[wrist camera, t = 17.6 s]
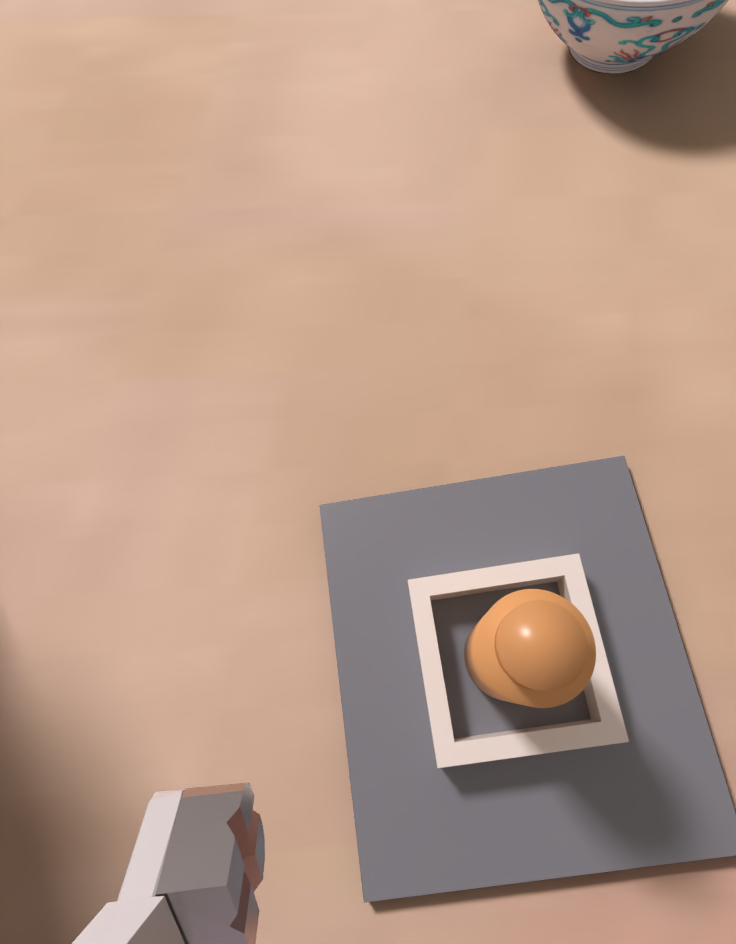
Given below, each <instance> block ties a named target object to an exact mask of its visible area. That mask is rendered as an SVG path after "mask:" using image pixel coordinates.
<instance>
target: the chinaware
mask: <svg viewBox="0 0 736 944" xmlns="http://www.w3.org/2000/svg"><path fill="white" fill-rule="evenodd" d="M728 1H729V0H538V2H539V5H540V7H541V10H542V12H543V14H544V16H545V18H546V20H547V22H548V23H549V25H550V27H551V28H552V29H553V31H554V32H555V33H556V35H557V36H558V37H559V38H560V39H561V40H562V41H563V42H564V43H565V44H566V45H568V46H569V48H570V52H571V54H572V55H573V57H574V58H575V59H576V60H577V61H578V62H579V63H580V64H581V65H583V66H585V67H586V68H588V69H591V70H594V71H597V72H602V73H624V72H628V71H632V70H635V69H637V68H639V67H641V66H643V65H644V64H646V63H647V62H648V61H650V60H651V59H652V57H654V56H656V55H659V54H661V53H664V52H666V51H668V50H670V49H672V48H674V47H675V46H677V45H679V44H680V43H682V42H684V41H685V40H687V39H688V38H689V37H691V36H692V35H694V34H695V33H696V32H697V31H699V30H700V29H701V28H702V27H703V26H705V25H706V24H707V23H708V22H709V21H710V20H711V19H712V18H713V17H714V16H715V15H716V14H717V13H718V12H719V11H720V10H721V9H722V8H723V6H724V5H725V4H726V3H727V2H728Z"/></svg>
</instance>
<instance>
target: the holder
mask: <svg viewBox="0 0 736 944" xmlns="http://www.w3.org/2000/svg"><path fill="white" fill-rule="evenodd" d="M320 514H321V523H322V532H323V540H324V549H325V558H326V567H327V576H328V585H329V594H330V603H331V612H332V621H333V630H334V639H335V648H336V657H337V666H338V675H339V684H340V693H341V702H342V711H343V720H344V729H345V738H346V747H347V756H348V764H349V773H350V782H351V791H352V800H353V809H354V818H355V827H356V836H357V845H358V854H359V863H360V872H361V881H362V890H363V899H364V902H372V901H380V900H388V899H396V898H403V897H411V896H419V895H427V894H435V893H443V892H451V891H459V890H467V889H475V888H483V887H491V886H499V885H506V884H514V883H522V882H530V881H538V880H546V879H554V878H562V877H570V876H578V875H586V874H594V873H601V872H609V871H617V870H625V869H633V868H641V867H649V866H657V865H665V864H673V863H681V862H689V861H696V860H704V859H712V858H720V857H728V856H736V813H735V810H734V806H733V803H732V800H731V797H730V794H729V790H728V787H727V784H726V781H725V777H724V774H723V771H722V768H721V765H720V761H719V758H718V755H717V752H716V749H715V745H714V742H713V739H712V736H711V733H710V729H709V726H708V723H707V720H706V716H705V713H704V710H703V707H702V704H701V700H700V697H699V694H698V691H697V688H696V684H695V681H694V678H693V675H692V671H691V668H690V665H689V662H688V659H687V655H686V652H685V649H684V646H683V643H682V639H681V636H680V633H679V630H678V627H677V623H676V620H675V617H674V614H673V610H672V607H671V604H670V601H669V598H668V594H667V591H666V588H665V585H664V582H663V578H662V575H661V572H660V569H659V566H658V562H657V559H656V556H655V553H654V549H653V546H652V543H651V540H650V537H649V533H648V530H647V527H646V524H645V521H644V517H643V514H642V511H641V508H640V504H639V501H638V498H637V495H636V492H635V488H634V485H633V482H632V479H631V476H630V472H629V469H628V466H627V463H626V460H625V456H620V457H613V458H607V459H601V460H595V461H589V462H582V463H576V464H570V465H564V466H558V467H552V468H545V469H539V470H533V471H527V472H521V473H515V474H508V475H502V476H496V477H490V478H484V479H478V480H471V481H465V482H459V483H453V484H447V485H440V486H434V487H428V488H422V489H416V490H410V491H403V492H397V493H391V494H385V495H379V496H373V497H366V498H360V499H354V500H348V501H342V502H336V503H329V504H323V505H320ZM523 589H541V590H546V591H549V592H553V593H555V594H557V595H560V596H562V597H563V598H565V599H566V600H568V601H569V602H570V603H572V604H573V605H574V606H575V607H576V608H577V609H578V610H579V611H580V612H581V613H582V615H583V616H584V617H585V619H586V621H587V622H588V624H589V626H590V628H591V630H592V633H593V636H594V640H595V645H596V662H595V667H594V671H593V674H592V676H591V679H590V680H589V682H588V684H587V685H586V687H585V688H584V689H583V691H582V692H581V693H580V694H579V695H578V696H576V697H575V698H574V699H572V700H570V701H569V702H567V703H565V704H562V705H559V706H556V707H551V708H534V707H530V706H525V705H520V704H516V703H511V702H507V701H502V700H498V699H495V698H492V697H490V696H488V695H487V694H485V693H484V692H482V691H481V690H480V689H479V688H478V687H477V686H476V685H475V684H474V682H473V681H472V680H471V678H470V676H469V674H468V672H467V669H466V666H465V661H464V648H465V643H466V640H467V638H468V635H469V633H470V632H471V630H472V629H473V628H474V627H475V625H476V624H477V623H478V622H479V621H480V620H481V619H482V617H483V616H484V615H485V614H486V613H487V612H488V611H489V610H490V608H491V607H492V606H493V605H494V604H495V603H496V602H497V601H498V600H500V599H501V598H503V597H504V596H506V595H508V594H510V593H512V592H515V591H519V590H523Z"/></svg>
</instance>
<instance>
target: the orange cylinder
mask: <svg viewBox="0 0 736 944" xmlns="http://www.w3.org/2000/svg"><path fill="white" fill-rule="evenodd" d="M464 661H465V666H466V669H467V672H468V674H469V676H470V678H471V680H472V681H473V682H474V684H475V685H476V686H477V687H478V688H479V689H480V690H481V691H482V692H484V693H485V694H487V695H488V696H490V697H492V698H495V699H498V700H502V701H507V702H511V703H516V704H520V705H525V706H530V707H534V708H551V707H556V706H559V705H562V704H565V703H567V702H569V701H570V700H572V699H574V698H575V697H576V696H578V695H579V694H580V693H581V692H582V691H583V689H584V688H585V687H586V685H587V684H588V682H589V680H590V679H591V676H592V674H593V671H594V667H595V662H596V645H595V640H594V636H593V633H592V630H591V628H590V626H589V624H588V622H587V621H586V619H585V617H584V616H583V615H582V613H581V612H580V611H579V610H578V609H577V608H576V607H575V606H574V605H573V604H572V603H570V602H569V601H568V600H566V599H565V598H563V597H562V596H560V595H557V594H555V593H553V592H549V591H546V590H541V589H523V590H519V591H515V592H512V593H510V594H508V595H506V596H504V597H503V598H501V599H500V600H498V601H497V602H496V603H495V604H494V605H493V606H492V607H491V608H490V610H489V611H488V612H487V613H486V614H485V615H484V616H483V617H482V619H481V620H480V621H479V622H478V623H477V624H476V625H475V627H474V628H473V629H472V630H471V632H470V633H469V635H468V638H467V640H466V643H465V648H464Z"/></svg>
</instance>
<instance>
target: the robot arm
mask: <svg viewBox="0 0 736 944" xmlns="http://www.w3.org/2000/svg"><path fill="white" fill-rule="evenodd" d="M253 802H254V794H253V791H252V788H251V785H250V783H240V784H229V785H219V786H208V787H198V788H187V789H178V790H170V791H161V792H155V794H154V795H153V797H152V798H151V800H150V801H149V803H148V806H147V809H146V812H145V815H144V818H143V821H142V825H141V828H140V831H139V834H138V837H137V840H136V843H135V846H134V850H133V853H132V856H131V859H130V862H129V865H128V868H127V871H126V875H125V878H124V881H123V884H122V887H121V890H120V893H119V896H118V900H117V901H114V902H108V903H106V905H105V906H104V907H103V908H102V909H101V910H100V912H99V913H98V914H97V915H96V916H95V917H94V918H93V920H92V921H91V922H90V923H89V924H88V925H87V926H86V928H85V929H84V930H83V931H82V932H81V933H80V935H79V936H78V937H77V938H76V939H75V940H74V941H73V943H72V944H255V942H256V934H257V925H258V916H259V908H258V905H257V902H256V899H255V896H254V891H255V890H256V888H257V887H258V885H259V884H260V882H261V881H262V880H263V871H264V860H265V849H264V832H263V825H262V821H261V818H260V814H258V813H257V812H255V811H254V810H252V809H253Z"/></svg>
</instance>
